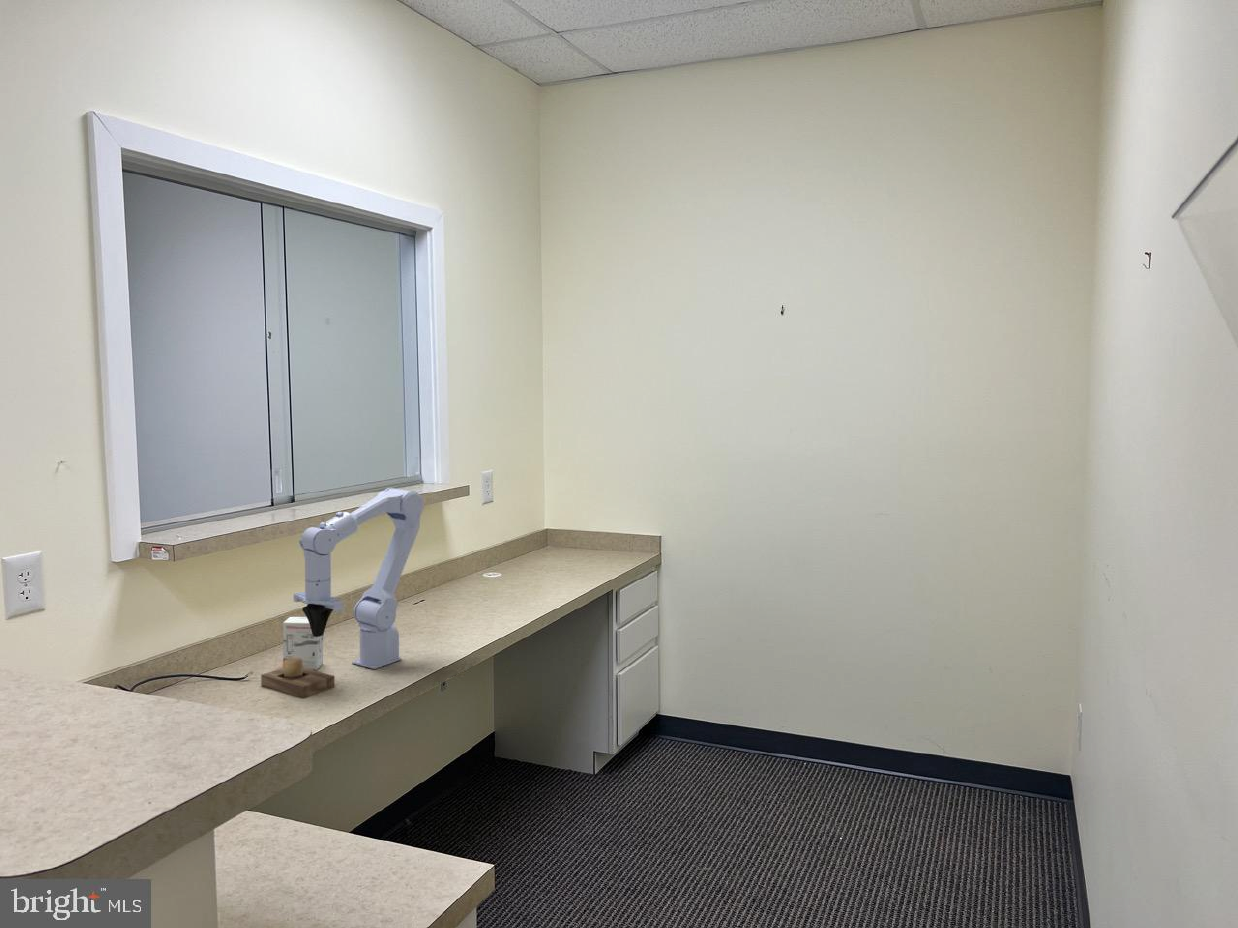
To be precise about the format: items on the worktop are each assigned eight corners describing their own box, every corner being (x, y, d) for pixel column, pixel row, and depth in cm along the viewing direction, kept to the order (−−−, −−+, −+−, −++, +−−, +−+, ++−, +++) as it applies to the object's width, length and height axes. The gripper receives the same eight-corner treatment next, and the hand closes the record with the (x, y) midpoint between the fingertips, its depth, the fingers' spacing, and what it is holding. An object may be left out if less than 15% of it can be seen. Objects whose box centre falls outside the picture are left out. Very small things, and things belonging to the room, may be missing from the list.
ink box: (281, 669, 223) (281, 621, 222) (288, 662, 228) (288, 616, 227) (317, 670, 223) (317, 622, 222) (323, 663, 228) (323, 617, 227)
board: (293, 674, 219) (293, 664, 219) (334, 686, 212) (334, 675, 212) (261, 685, 212) (261, 674, 211) (303, 697, 205) (303, 686, 204)
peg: (294, 681, 215) (294, 656, 214) (306, 684, 213) (306, 659, 212) (280, 686, 211) (279, 661, 211) (292, 690, 209) (291, 664, 208)
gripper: (282, 577, 215) (283, 634, 216) (326, 586, 208) (326, 645, 209) (306, 572, 221) (307, 627, 222) (349, 580, 214) (350, 637, 215)
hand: (318, 635), depth 216 cm, fingers closed
